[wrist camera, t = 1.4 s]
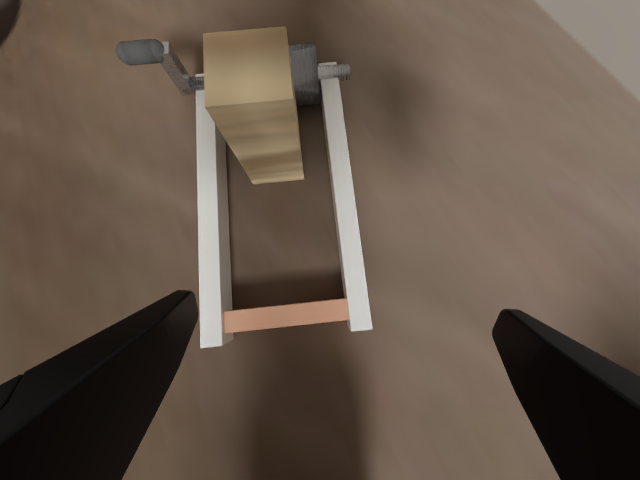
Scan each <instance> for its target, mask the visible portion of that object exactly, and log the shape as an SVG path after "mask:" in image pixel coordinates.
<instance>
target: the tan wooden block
mask: <svg viewBox="0 0 640 480" xmlns="http://www.w3.org/2000/svg"><path fill="white" fill-rule="evenodd" d="M203 56H204V94H205V108H206V110H207V111H208V113H209V114H210V116H211V118H212V119H213V121H214V122H215V124H216V126H217V127H218V129H219V130H220V132H221V134H222V135H223V137H224V138H225V140H226V142H227V143H228V145H229V146H230V148H231V150H232V151H233V153H234V154H235V156H236V158H237V159H238V161H239V162H240V164H241V166H242V167H243V169H244V170H245V172H246V174H247V175H248V177H249V178H250V180H251V182H252V183H253V184H262V183H273V182H283V181H293V180H303V179H304V171H303V161H302V151H301V141H300V132H299V124H298V116H297V108H296V100H295V93H294V85H293V77H292V69H291V61H290V53H289V46H288V38H287V30H286V26H283V27H271V28H260V29H248V30H236V31H225V32H213V33H203Z"/></svg>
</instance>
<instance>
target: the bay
mask: <svg viewBox="0 0 640 480" xmlns="http://www.w3.org/2000/svg"><path fill="white" fill-rule="evenodd" d="M288 46H289V53H290V61H291V69H292V77H293V85H294V93H295V100H296V106H299V105H310V104H319V91H320V99H321V108H322V116H323V124H324V133H325V141H326V150H327V158H328V167H329V175H330V183H331V192H332V200H333V209H334V217H335V225H336V234H337V242H338V251H339V259H340V267H341V276H342V284H343V293H344V298H339V299H330V300H321V301H311V302H302V303H293V304H283V305H274V306H265V307H255V308H246V309H237V310H232V286H231V262H230V237H229V213H228V189H227V165H226V140H225V138H224V137H223V135H222V134H221V132H220V130H219V129H218V127H217V126H216V124H215V122H214V121H213V119H212V118H211V116H210V114H209V113H208V111H207V110H206V108H205V94H204V74H195V77H191V78H190V76H189V74H188V73H187V71H186V69H185V68H184V66H183V64H182V63H181V61H180V59H179V58H178V56H177V55H176V53H175V51H174V50H173V48H172V46H171V45H170V43H169V42H160V41H158V40H156V39H146V40H134V41H123V42H120V43H118V44H117V46H116V54H117V56H118V58H119V59H120V60H121V61H122V62H123V63H125V64H127V65H142V64H154V63H161V65H162V66H163V68H164V69H165V71H166V72H167V73H168V75H169V76H170V78H171V79H172V81H173V82H174V83H175V85H176V86H177V88H178V89H179V91H180V92H181V93H182V95H183V96H184V95H195V94H196V137H197V190H198V244H199V298H200V348H207V347H216V346H223V345H225V344H226V343H228V342H230V341H232V340H234V335H233V332H242V331H251V330H260V329H269V328H278V327H288V326H297V325H306V324H315V323H324V322H334V321H343V320H347V326H348V328H349V329H350V331H351V332H353V331H362V330H371V329H372V322H371V314H370V307H369V300H368V292H367V285H366V278H365V270H364V263H363V256H362V248H361V241H360V233H359V226H358V219H357V211H356V204H355V197H354V189H353V182H352V175H351V167H350V160H349V152H348V145H347V138H346V130H345V123H344V116H343V108H342V101H341V94H340V86H339V81H343V80H350V64H349V63H347V64H336V62H329V63H319V66H317V55H316V47H315V43H304V44H293V45H288Z"/></svg>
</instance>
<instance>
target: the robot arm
mask: <svg viewBox="0 0 640 480" xmlns="http://www.w3.org/2000/svg"><path fill="white" fill-rule="evenodd" d="M197 320H198V308H197V303H196V299H195V294H194V292H193V291H190V290H177V291H175V292H173V293H171V294H170V295H168V296H166V297H164V298H162V299H160V300H158V301H156V302H155V303H153V304H151V305H149V306H147V307H145V308H143V309H142V310H140V311H138V312H136V313H134V314H132V315H130V316H128V317H127V318H125V319H123V320H121V321H119V322H117V323H115V324H114V325H112V326H110V327H108V328H106V329H104V330H102V331H100V332H99V333H97V334H95V335H93V336H91V337H89V338H87V339H85V340H84V341H82V342H80V343H78V344H76V345H74V346H72V347H71V348H69V349H67V350H65V351H63V352H61V353H59V354H57V355H56V356H54V357H52V358H50V359H48V360H46V361H44V362H42V363H41V364H39V365H37V366H35V367H33V368H31V369H29V370H28V371H26V372H25V373H24V374H23V375H18V376H16V377H14V378H12V379H11V380H9V381H7V382H5V383H3V384H1V385H0V480H122V478H123V476H124V474H125V472H126V470H127V468H128V466H129V464H130V462H131V460H132V458H133V456H134V455H135V453H136V451H137V449H138V447H139V445H140V443H141V441H142V439H143V437H144V435H145V433H146V431H147V429H148V427H149V425H150V423H151V421H152V419H153V418H154V416H155V414H156V412H157V410H158V408H159V406H160V404H161V402H162V400H163V398H164V396H165V394H166V392H167V390H168V388H169V386H170V384H171V382H172V381H173V379H174V377H175V375H176V372H177V370H178V368H179V366H180V363H181V361H182V358H183V356H184V353H185V351H186V348H187V346H188V343H189V340H190V338H191V335H192V333H193V330H194V328H195V325H196V323H197ZM492 336H493V340H494V342H495V345H496V347H497V350H498V352H499V354H500V357H501V359H502V362H503V364H504V367H505V369H506V372H507V374H508V377H509V379H510V381H511V384H512V386H513V388H514V391H515V393H516V395H517V397H518V399H519V401H520V403H521V404H522V406H523V408H524V410H525V412H526V414H527V416H528V418H529V420H530V422H531V424H532V426H533V428H534V430H535V431H536V433H537V435H538V437H539V439H540V441H541V443H542V445H543V447H544V449H545V451H546V453H547V455H548V457H549V458H550V460H551V462H552V464H553V466H554V468H555V470H556V472H557V474H558V476H559V478H560V480H640V376H638V375H636V374H634V373H632V372H631V371H629V370H627V369H625V368H623V367H622V366H620V365H618V364H616V363H614V362H613V361H611V360H609V359H607V358H605V357H604V356H602V355H600V354H598V353H596V352H595V351H593V350H591V349H589V348H587V347H586V346H584V345H582V344H580V343H578V342H577V341H575V340H573V339H571V338H569V337H568V336H566V335H564V334H562V333H560V332H559V331H557V330H555V329H553V328H551V327H550V326H548V325H546V324H544V323H542V322H541V321H539V320H537V319H535V318H533V317H531V316H530V315H528V314H526V313H524V312H522V311H521V310H517V309H503V310H502V311H501V312H500V314H499V316H498V318H497V320H496V323H495V325H494V327H493V329H492Z"/></svg>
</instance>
